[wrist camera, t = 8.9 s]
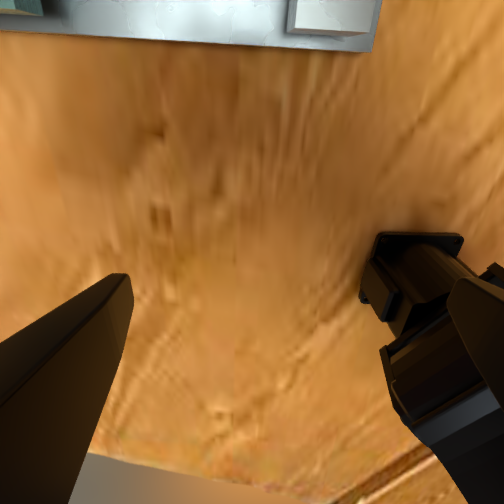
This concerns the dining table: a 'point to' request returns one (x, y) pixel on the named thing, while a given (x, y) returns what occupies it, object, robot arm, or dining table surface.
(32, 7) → the teal lever with handle
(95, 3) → the gauge plate
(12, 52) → the dining table surface
